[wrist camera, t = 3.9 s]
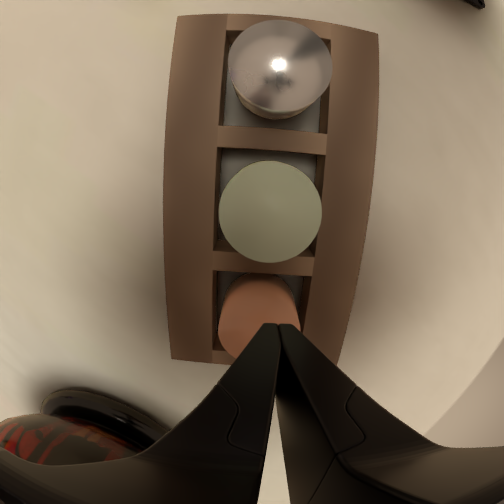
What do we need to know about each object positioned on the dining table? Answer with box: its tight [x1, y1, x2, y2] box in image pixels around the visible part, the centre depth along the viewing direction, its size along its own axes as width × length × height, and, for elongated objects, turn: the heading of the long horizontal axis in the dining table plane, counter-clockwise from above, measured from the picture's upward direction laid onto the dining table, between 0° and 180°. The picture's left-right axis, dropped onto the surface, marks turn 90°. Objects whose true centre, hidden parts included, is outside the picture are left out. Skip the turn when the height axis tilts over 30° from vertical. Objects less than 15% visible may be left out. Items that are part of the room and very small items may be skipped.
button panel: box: [163, 14, 379, 366], centre depth 15 cm, size 10×19×2 cm, turn 176°
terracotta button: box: [218, 273, 300, 358], centre depth 16 cm, size 4×4×3 cm
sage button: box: [219, 160, 322, 263], centre depth 13 cm, size 4×4×3 cm
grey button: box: [228, 20, 332, 119], centre depth 11 cm, size 4×4×3 cm
